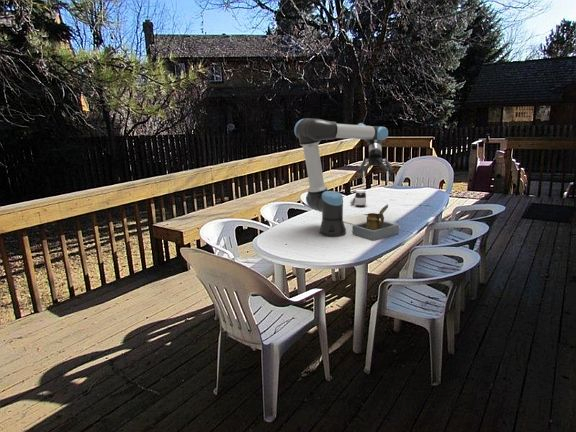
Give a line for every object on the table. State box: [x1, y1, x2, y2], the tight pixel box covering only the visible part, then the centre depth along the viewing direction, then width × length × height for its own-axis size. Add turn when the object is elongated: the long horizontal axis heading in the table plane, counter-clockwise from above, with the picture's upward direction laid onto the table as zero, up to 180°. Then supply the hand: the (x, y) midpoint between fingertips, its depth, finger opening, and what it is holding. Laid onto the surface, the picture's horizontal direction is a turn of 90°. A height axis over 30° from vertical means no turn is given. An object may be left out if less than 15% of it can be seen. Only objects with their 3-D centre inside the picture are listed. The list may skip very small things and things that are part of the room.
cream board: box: [343, 214, 367, 226], centre depth 271 cm, size 18×18×1 cm
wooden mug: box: [366, 204, 389, 231], centre depth 238 cm, size 9×14×18 cm, turn 50°
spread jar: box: [349, 189, 367, 208], centre depth 309 cm, size 12×11×12 cm
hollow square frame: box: [351, 219, 399, 241], centre depth 240 cm, size 20×16×5 cm
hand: (375, 181), depth 247 cm, fingers open, 13 cm apart
